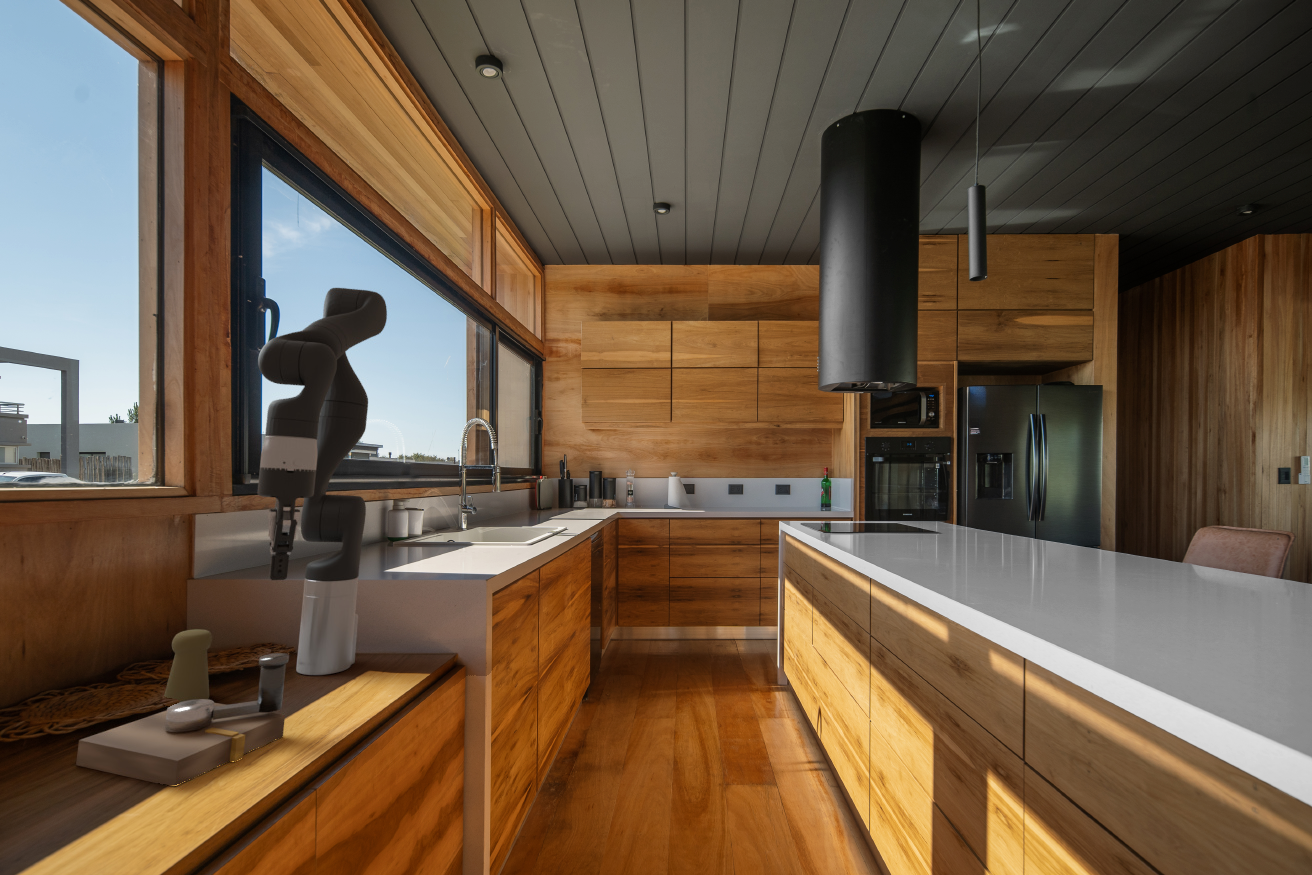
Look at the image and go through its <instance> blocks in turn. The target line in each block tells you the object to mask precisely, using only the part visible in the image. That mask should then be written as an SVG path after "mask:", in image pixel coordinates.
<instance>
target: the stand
mask: <svg viewBox="0 0 1312 875" xmlns="http://www.w3.org/2000/svg"><path fill="white" fill-rule="evenodd" d="M223 705H225V704H224V703H217V702H214V707H216V706H223ZM166 715H167V709H166V710H163V711H161V712H158V713H155V714H152V715H148V716H146V717H144V718H141V719H138V720H135V721H132V722H128V723H125V724H122V725H120V726H117V727H114V728H110V729H108V730H106V731H105V730H104V731H101V732H98V733H97V734H94V735H90V736H87V737H84V738H81V739H79V740H78V744H77V745H78V746H77V747H78V748H77V753H76V762H75V765H76V766H78V767H82V768H88V769H92V770H96V771H100V772H105V773H108V774H115V775H119V776H122V777H123V776H124V777H127V778H132V779H137V780H142V781H146V782H150V783H154V784H158V783H160V784H159V785H163V784H168V785H177V784H180V783H182V782H184V781H187V780H189V779H191V780H193V779H195V778H194V777H196V776H198V775H200V774H202V773H204V772H206V773H208V772H207V771H209V770H211V769H213V768H215V767H217V766H219V765H221V766H223V765H222V764H224V763H226V762H228V761H234V762H235V761H237V760H239V759H241V758H243V759H244V755H243V754H245V753H247V752H249V751H251V750H253V749H256V748H258V747H260V748H262V747H264V746H266V745H265V744H267V743H269V742H271V741H273V740H275V739H277V740H279V739H281V738H280V737H282V736H283V737H284V729H285V722H286V721H285V719H286V714H280V713H277V712H267V713H255V714H248V715H241V716H235V717H228V718H222V719H215V720H213V719H212V723H211V724H209V725H207V726H205V727H203V728H200V729H196V730H192V731H186V732H169V731H166V730H165V724H166ZM283 737H282V738H283ZM278 738H279V739H278ZM275 741H276V740H275ZM273 742H274V741H273ZM271 743H272V742H271ZM269 744H270V743H269ZM263 745H264V746H263ZM267 745H268V744H267ZM261 746H262V747H261ZM258 749H259V748H258ZM256 750H257V749H256ZM249 753H250V752H249ZM247 754H248V753H247ZM245 755H246V754H245ZM241 760H242V759H241ZM239 761H240V760H239ZM237 762H238V761H237ZM228 763H229V762H228ZM235 763H236V762H235ZM226 764H227V763H226ZM224 765H225V764H224ZM219 767H220V766H219ZM217 768H218V767H217ZM215 769H216V768H215ZM213 770H214V769H213ZM211 771H212V770H211ZM209 772H210V771H209ZM204 774H205V773H204ZM202 775H203V774H202ZM200 776H201V775H200ZM198 777H199V776H198ZM192 778H193V779H192ZM196 778H197V777H196ZM189 781H190V780H189ZM187 782H188V781H187Z"/></svg>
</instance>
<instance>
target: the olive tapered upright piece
mask: <svg viewBox="0 0 1312 875" xmlns="http://www.w3.org/2000/svg"><path fill="white" fill-rule="evenodd" d="M212 641H213V635H212V632H211V631H209V630H207V629H202V628H201V629H198V628H197V629H196V628H195V629H188V630H183V631H180V632H178V633H177V634H175V636H174V637H173V639H172V642H171V648H172V651H173V652H174V658H173V660H172V663H171V664H172V666H171V668H170V673H169V677H168V679H167V683H166V687H165V692H164V695H163V697H164V696H165V697H167V698H173V699H177V700H179V701H180V702H184V701H189V700H197V699H208V700H210V687H209V686H210V685H209V668H208V667H209V666H208V649H209V648H211V645H212ZM180 702H179V703H180Z"/></svg>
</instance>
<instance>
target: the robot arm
mask: <svg viewBox="0 0 1312 875" xmlns="http://www.w3.org/2000/svg"><path fill="white" fill-rule="evenodd" d="M387 309H388V308H387V304H386V300H385V299H384V297H383V296H382V294H380V293H378V292H376V291H373V290H366V289H358V288H357V289H356V288H346V287H332V288H330V289H329V290H328V291H327V293H326V295H325V298H324V302H323V315H322V318H320V319H318V320H315V321H313V322H312V323H310V324H309V325H308V326H306V327H305V328H304V329H302V330H300V331H294V332H289V333H287V334H283V335H279V336H276V337H274V338H271V339H270V340H268V342H266V343H265V344H264V345H263V347H262V348H261V350H260V351H259V354H258V357H257V358H258V359H257V365H258V369H259V371H260V373H261V374H262V376H263V377H264V378H265V379H266V380H268V381H269V382H272V383H273V384H278V385H288V386H303V388H302V389H301V391H300V392H299V394H297V395H296V396H293V397H288V398H287V397H286V398H279V399H275V400H272V401H271V402H270V403H269V405H268V408H267V414H266V424H265V426H266V427H265V434H264V435H265V436H264V441H263V445H262V450H261V454H260V465H259V473H258V474H259V476H258V484H257V495H258V496H259V497H262V498H263V497H264V498H275V503H274V504H275V505H274V508H269V509H268V517H267V518H268V520H269V527H268V537H269V539H270V542H269V547H270V548H269V552H270V556H271V557H270V565H269V573H268V574H269V578H270V580H271V581H284V580H286V579H287V577H288V570H289V561H290V555H291V553H292V552H293V551H294V541H295V539H296V537H297V531H298V530H297V529H298V522H299V521H300V534H301V536H302V539H303V540H304V541H306V542H309V543H310V542H311V543H342V545H341V549H339V550H338V551H337V552H335V553H333V554H332V555H331V554H330V556H329V555H328V556H327V557H324V558H319V559H317V560H313V561H311V562H309V563H308V564H306V567H305V573H304V584H303V597H302V603H301V604H302V605H301V606H302V607H301V618H300V626H299V627H300V628H299V636H298V648H297V658H296V667H295V668H296V672H297V673H298V674H302V675H308V676H323V675H331V674H335V673H339V672H344V671H345V670H348V669H349V668H350V667H351V666H352V665H353V664H355V660H356V649H357V647H356V646H357V636H358V625H359V624H358V622H359V614H357V613H356V611H357V610H356V608H357V597H358V585H359V584H358V583H359V575H360V574H359V573H360V564H361V563H360V562H361V554H362V543H363V536H364V529H365V523H366V516H367V515H366V513H367V508H366V507H367V506H366V502H365V499H364V498H363V497H362V496H359V495H346V494H327V489H328V486H329V483H330V480H331V478H332V477H333V474H334V473H335V471H336V470H337V468H338V467H339V465H340V464H341V462H343V460H345V458H346V457H347V455H348V454H349V453H351V451H352V450H353V449H354V448H355V446H356V445H357V444H358V443H359V442H360V440H361V439H362V437H363V435H364V434H365V432H366V429H367V420H368V418H367V417H368V409H369V397H368V395H367V394H368V393H367V392H366V390H365V388H364V386H363V383H362V382H361V381H360V378H359V377H358V376H357V373H356V371H355V370H354V369H353V367H352V364H351V362H350V361H349V358H348V356H347V351H348V350H350V349H351V348H353V347H355V346H357V345H358V344H361V343H362V342H364V341H367V340H369V339H371V338H373V337H376V336H378V335H380V334H381V333H382V332H383V330H384V329H385V327H386V325H387V324H386V323H387V318H388V317H387V316H388V311H387ZM298 499H303V504H302V510H301V509H299V508H296V502H297V500H298ZM300 516H301V517H300Z"/></svg>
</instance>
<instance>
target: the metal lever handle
mask: <svg viewBox="0 0 1312 875" xmlns="http://www.w3.org/2000/svg"><path fill="white" fill-rule="evenodd" d="M289 659H290V655H289V654H288V653H281V652H278V653H269V654H265V655H262V656H260V657H259V660H258V665H259V666H260V672H259V673H260V675H259V682H258V693H257V694H258V696H257V700H252V701H247V702H246V701H245V702H239V703H232V704H224V705H223V706H216V707H214V703H215V701H214V700H212V699H197V700H189V701H184V702H180V703H177V704H174V705H172V706H170V707H167V709H166V710H167V715H166V724H165V730H166V731H169V732H186V731H192V730H196V729H200V728H203V727H205V726H207V725H209V724H211V723H212V719H213V720H215V719H222V718H228V717H235V716H241V715H248V714H255V713H267V712H270V713H274V712H277V711H278V710H281V709H282V707H283V696H284V689H285V688H284V686H285V675H286V666H287V663H289V662H290V661H289Z"/></svg>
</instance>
